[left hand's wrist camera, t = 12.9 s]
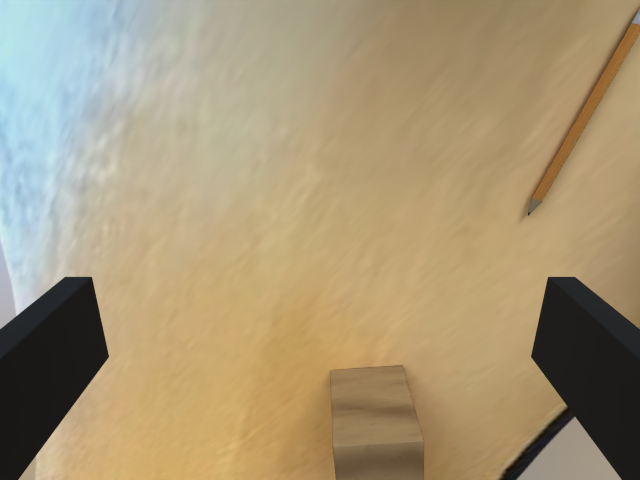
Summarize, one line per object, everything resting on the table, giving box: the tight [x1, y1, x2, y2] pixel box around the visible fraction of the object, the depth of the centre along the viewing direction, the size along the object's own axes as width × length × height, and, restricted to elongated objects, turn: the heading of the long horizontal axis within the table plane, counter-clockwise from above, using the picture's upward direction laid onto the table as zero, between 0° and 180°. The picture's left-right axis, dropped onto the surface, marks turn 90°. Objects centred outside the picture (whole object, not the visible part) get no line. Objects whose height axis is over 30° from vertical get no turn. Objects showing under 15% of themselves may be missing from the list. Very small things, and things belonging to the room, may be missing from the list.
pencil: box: [527, 9, 640, 216], centre depth 37 cm, size 1×1×19 cm
